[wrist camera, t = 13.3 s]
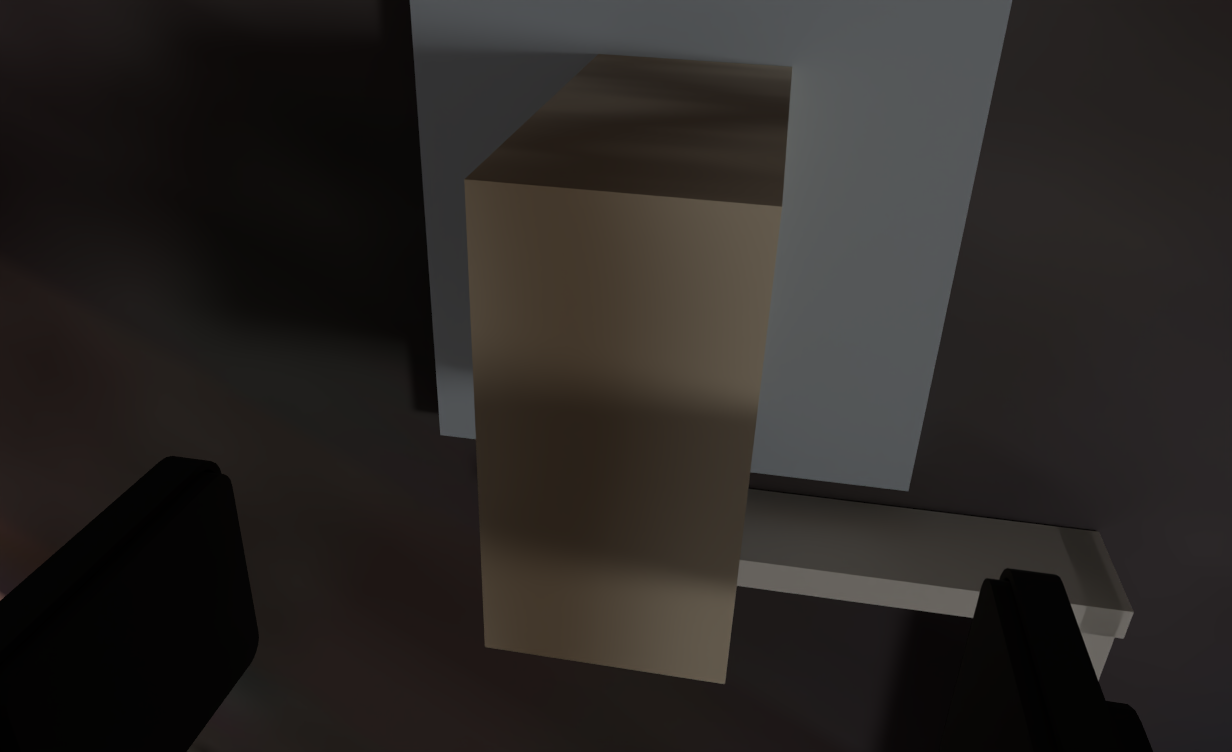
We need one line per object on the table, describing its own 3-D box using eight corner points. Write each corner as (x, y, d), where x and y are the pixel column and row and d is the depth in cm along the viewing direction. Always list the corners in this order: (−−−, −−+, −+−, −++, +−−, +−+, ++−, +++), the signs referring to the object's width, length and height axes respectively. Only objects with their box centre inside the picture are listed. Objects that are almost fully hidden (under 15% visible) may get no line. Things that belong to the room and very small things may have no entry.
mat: (904, 468, 24) (908, 491, 24) (452, 416, 26) (440, 434, 25) (1010, -43, 19) (1019, -37, 18) (422, -69, 20) (405, -66, 20)
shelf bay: (972, 907, 32) (987, 1001, 29) (588, 839, 34) (569, 921, 31) (1098, 531, 24) (1133, 611, 22) (595, 470, 26) (572, 537, 24)
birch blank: (792, 66, 19) (781, 206, 12) (752, 406, 23) (725, 684, 15) (598, 54, 20) (463, 179, 12) (590, 388, 24) (485, 646, 16)
